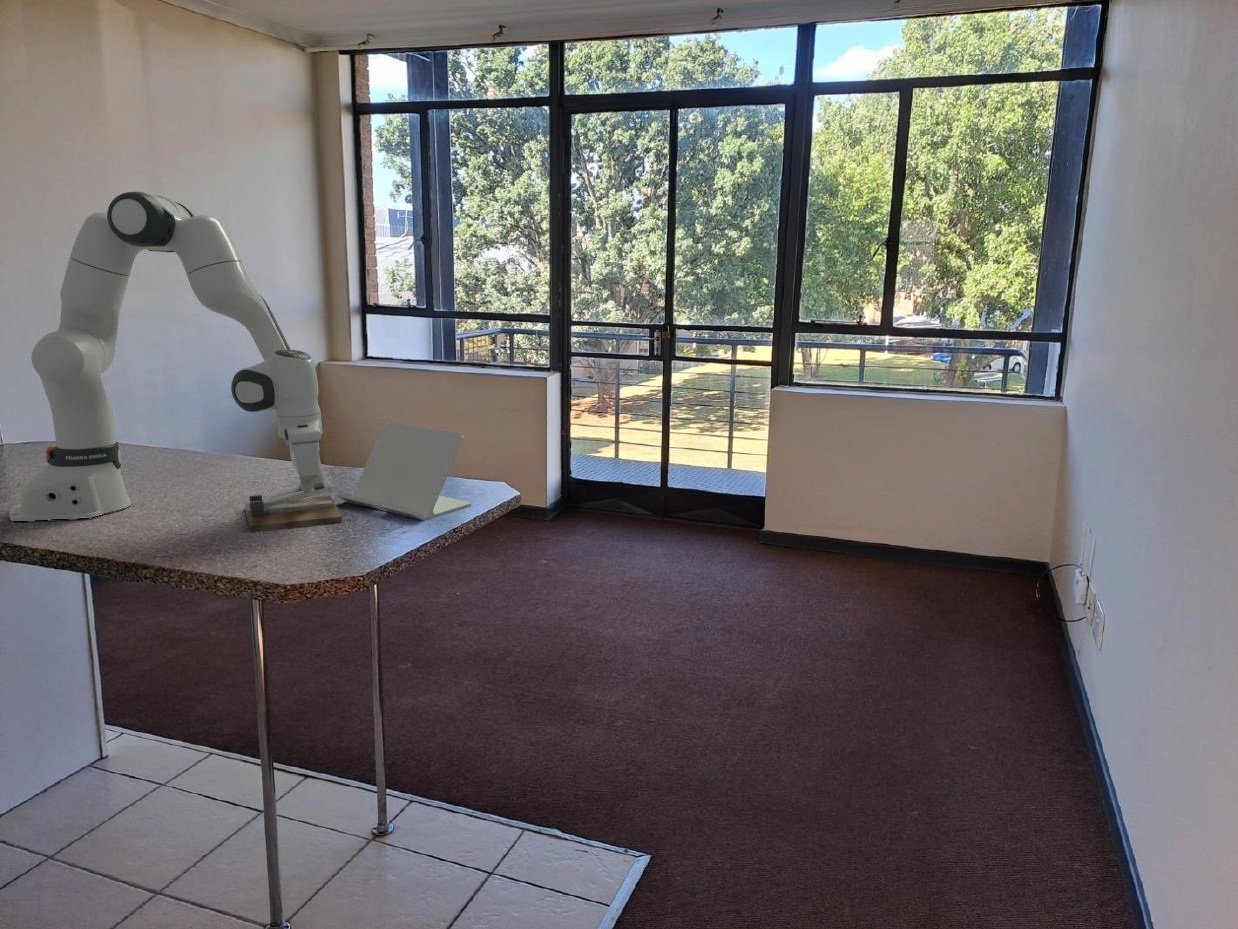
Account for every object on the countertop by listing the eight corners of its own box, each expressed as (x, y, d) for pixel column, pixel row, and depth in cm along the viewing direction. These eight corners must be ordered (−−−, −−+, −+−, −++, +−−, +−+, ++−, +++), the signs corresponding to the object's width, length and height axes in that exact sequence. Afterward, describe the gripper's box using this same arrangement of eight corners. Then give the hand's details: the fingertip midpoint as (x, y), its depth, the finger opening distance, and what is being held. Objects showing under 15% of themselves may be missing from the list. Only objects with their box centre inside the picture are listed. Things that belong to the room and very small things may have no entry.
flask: (310, 494, 206) (308, 452, 204) (293, 489, 210) (290, 448, 208) (337, 488, 212) (334, 447, 209) (319, 483, 216) (316, 443, 214)
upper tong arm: (253, 514, 184) (250, 504, 183) (252, 509, 187) (250, 500, 186) (331, 493, 189) (328, 484, 189) (329, 489, 193) (326, 480, 192)
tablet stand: (397, 489, 212) (393, 420, 208) (473, 506, 199) (471, 432, 195) (335, 505, 198) (331, 431, 194) (413, 524, 184) (410, 445, 180)
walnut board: (249, 531, 177) (249, 525, 177) (245, 508, 193) (245, 503, 193) (342, 521, 184) (341, 516, 184) (330, 500, 200) (330, 495, 200)
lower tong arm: (252, 517, 182) (250, 502, 182) (250, 510, 188) (249, 495, 187) (334, 509, 189) (333, 495, 189) (330, 502, 194) (330, 488, 194)
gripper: (279, 421, 193) (286, 481, 197) (289, 436, 175) (295, 503, 179) (309, 418, 196) (315, 478, 199) (321, 433, 178) (328, 499, 181)
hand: (306, 490), depth 189 cm, fingers closed, pressing on upper tong arm
